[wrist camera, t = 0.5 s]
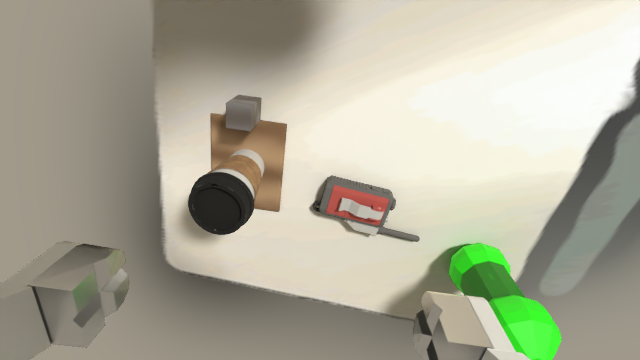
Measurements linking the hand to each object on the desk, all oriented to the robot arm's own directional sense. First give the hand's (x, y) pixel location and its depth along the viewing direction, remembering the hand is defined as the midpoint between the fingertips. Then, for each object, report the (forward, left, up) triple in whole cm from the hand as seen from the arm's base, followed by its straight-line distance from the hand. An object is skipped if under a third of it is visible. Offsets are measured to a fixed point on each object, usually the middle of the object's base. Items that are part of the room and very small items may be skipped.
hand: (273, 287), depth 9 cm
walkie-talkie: (+21, +11, -44) cm, 49 cm away
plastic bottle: (+28, +31, -43) cm, 60 cm away
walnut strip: (+14, -11, -43) cm, 46 cm away
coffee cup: (+16, -11, -43) cm, 47 cm away
